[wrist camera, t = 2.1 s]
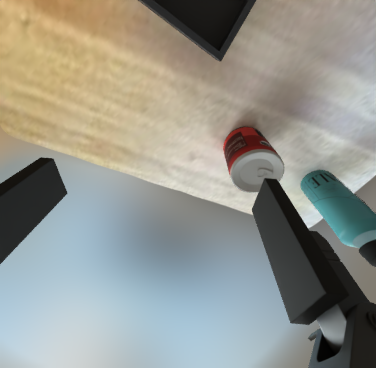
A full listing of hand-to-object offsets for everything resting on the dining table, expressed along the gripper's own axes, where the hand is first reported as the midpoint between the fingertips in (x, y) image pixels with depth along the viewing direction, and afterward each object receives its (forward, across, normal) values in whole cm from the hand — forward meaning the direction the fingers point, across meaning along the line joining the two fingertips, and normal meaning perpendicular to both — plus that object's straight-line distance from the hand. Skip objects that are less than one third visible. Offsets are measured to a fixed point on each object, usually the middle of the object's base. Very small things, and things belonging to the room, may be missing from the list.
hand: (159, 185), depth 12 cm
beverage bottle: (+25, +29, -13) cm, 41 cm away
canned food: (+25, +12, -7) cm, 29 cm away
